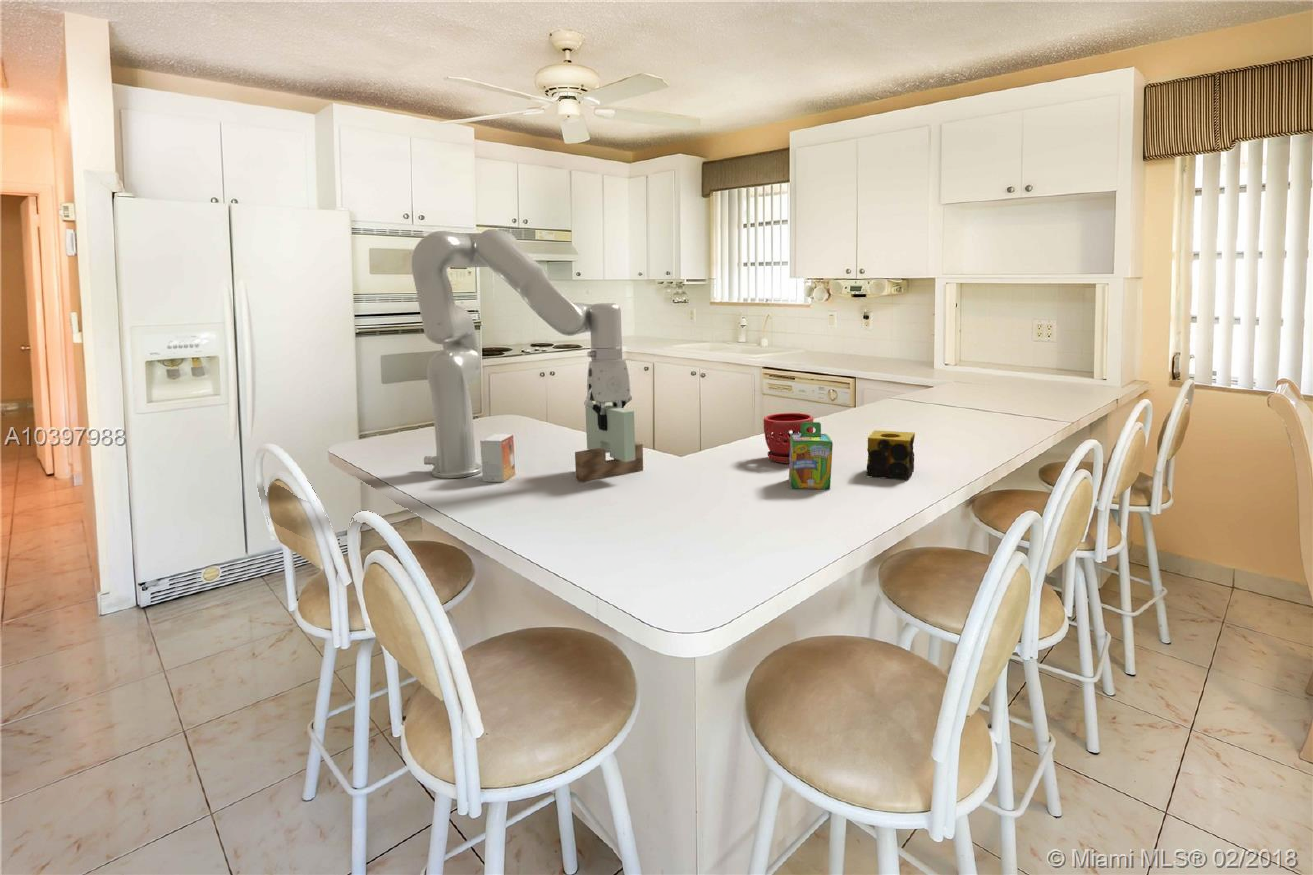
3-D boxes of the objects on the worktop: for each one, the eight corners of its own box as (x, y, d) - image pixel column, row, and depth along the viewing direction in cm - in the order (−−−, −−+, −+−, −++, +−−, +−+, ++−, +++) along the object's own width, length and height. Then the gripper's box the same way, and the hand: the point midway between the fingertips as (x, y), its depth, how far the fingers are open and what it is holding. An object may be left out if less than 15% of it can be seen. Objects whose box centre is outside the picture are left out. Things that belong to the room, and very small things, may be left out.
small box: (503, 483, 180) (501, 440, 178) (482, 482, 181) (479, 440, 179) (516, 474, 188) (513, 434, 186) (495, 473, 189) (493, 433, 187)
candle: (914, 471, 185) (916, 432, 183) (909, 481, 176) (911, 440, 174) (872, 467, 190) (874, 429, 188) (865, 477, 181) (867, 437, 179)
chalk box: (791, 489, 171) (792, 426, 168) (788, 479, 180) (789, 419, 177) (831, 490, 170) (834, 427, 167) (826, 479, 179) (828, 419, 176)
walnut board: (582, 482, 180) (581, 454, 178) (575, 479, 182) (574, 452, 181) (643, 470, 190) (642, 443, 188) (636, 468, 192) (636, 442, 191)
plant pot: (797, 452, 207) (798, 410, 204) (821, 463, 195) (823, 418, 192) (754, 456, 203) (755, 413, 200) (777, 467, 191) (778, 422, 188)
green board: (587, 449, 191) (585, 403, 189) (597, 447, 193) (595, 402, 190) (624, 461, 177) (623, 412, 174) (635, 460, 178) (634, 411, 176)
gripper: (585, 358, 172) (588, 435, 176) (643, 353, 181) (645, 426, 185) (569, 356, 178) (573, 431, 182) (626, 351, 187) (628, 422, 191)
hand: (609, 428), depth 183 cm, fingers closed on green board, 3 cm apart
